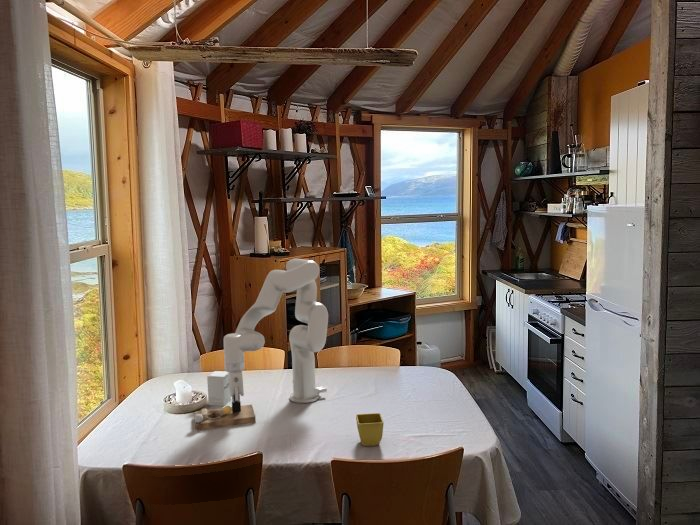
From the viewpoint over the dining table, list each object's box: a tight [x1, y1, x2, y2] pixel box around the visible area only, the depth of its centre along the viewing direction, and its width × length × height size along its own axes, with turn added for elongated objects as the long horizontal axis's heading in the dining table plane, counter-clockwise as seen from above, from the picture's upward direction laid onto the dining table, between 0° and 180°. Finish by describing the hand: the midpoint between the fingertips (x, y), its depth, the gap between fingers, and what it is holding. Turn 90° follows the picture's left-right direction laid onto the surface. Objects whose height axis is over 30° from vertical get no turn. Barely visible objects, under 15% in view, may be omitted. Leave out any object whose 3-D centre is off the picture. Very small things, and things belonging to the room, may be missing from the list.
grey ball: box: [193, 414, 203, 423], centre depth 202 cm, size 3×3×3 cm
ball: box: [222, 405, 232, 414], centre depth 210 cm, size 3×3×3 cm
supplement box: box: [206, 370, 232, 407], centre depth 228 cm, size 7×7×13 cm
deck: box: [194, 404, 257, 431], centre depth 210 cm, size 22×13×4 cm, turn 106°
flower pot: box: [355, 412, 384, 447], centre depth 187 cm, size 9×9×9 cm
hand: (236, 411), depth 211 cm, fingers closed
